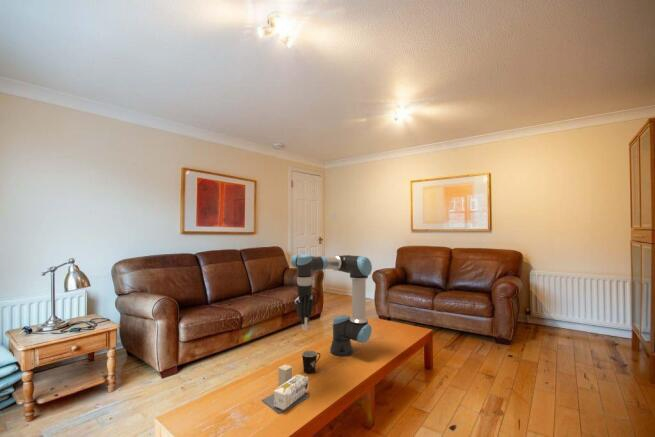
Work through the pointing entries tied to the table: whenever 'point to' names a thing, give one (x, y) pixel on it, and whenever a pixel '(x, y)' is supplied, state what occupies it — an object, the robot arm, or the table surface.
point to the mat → (270, 403)
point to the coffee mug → (309, 361)
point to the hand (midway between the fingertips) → (304, 329)
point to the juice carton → (290, 391)
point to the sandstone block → (284, 374)
